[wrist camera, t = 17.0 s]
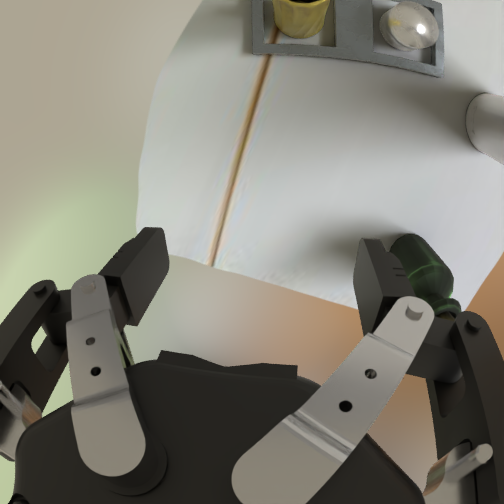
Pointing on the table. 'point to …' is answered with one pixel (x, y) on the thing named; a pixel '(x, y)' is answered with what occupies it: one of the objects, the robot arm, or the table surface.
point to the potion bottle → (427, 275)
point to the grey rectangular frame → (370, 34)
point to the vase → (300, 16)
